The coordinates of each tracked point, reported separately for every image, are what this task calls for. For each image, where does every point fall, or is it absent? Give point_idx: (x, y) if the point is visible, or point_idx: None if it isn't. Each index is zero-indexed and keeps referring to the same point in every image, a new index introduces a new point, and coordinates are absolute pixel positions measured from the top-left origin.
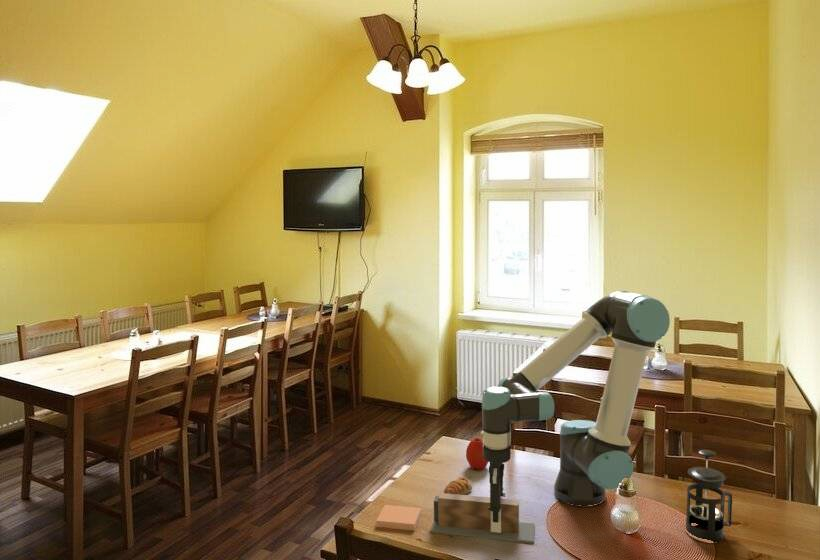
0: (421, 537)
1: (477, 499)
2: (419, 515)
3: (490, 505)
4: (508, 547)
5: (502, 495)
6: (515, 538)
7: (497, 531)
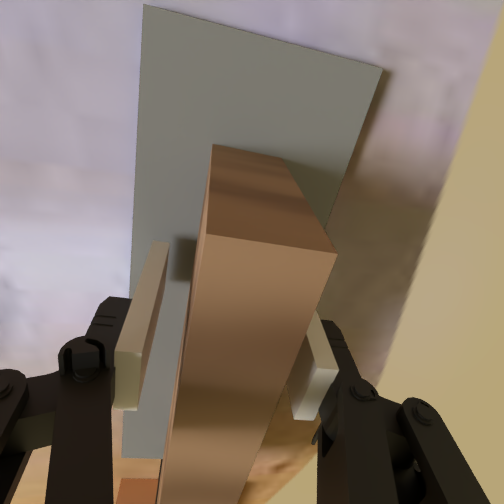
0: (269, 465)
1: (208, 495)
2: (149, 491)
3: (422, 496)
4: (382, 220)
5: (97, 366)
6: (333, 183)
7: None
